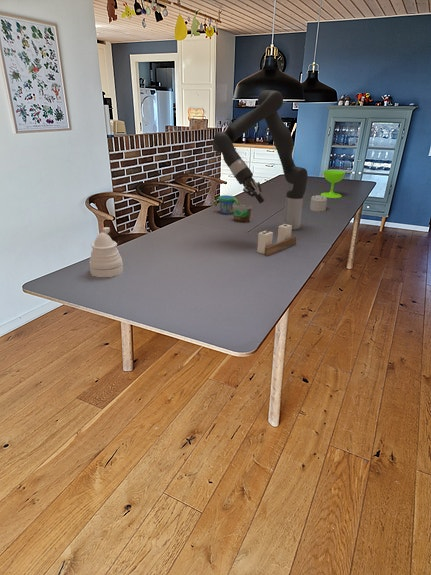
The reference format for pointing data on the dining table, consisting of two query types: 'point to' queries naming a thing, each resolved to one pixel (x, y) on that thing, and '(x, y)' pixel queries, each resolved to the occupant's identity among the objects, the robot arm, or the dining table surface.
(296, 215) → the robot arm
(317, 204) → the lumpy-topped squat cylinder
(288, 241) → the console
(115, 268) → the honey pot
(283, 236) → the key one
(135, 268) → the dining table surface
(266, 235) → the key two
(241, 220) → the food container
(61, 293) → the dining table surface
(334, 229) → the dining table surface
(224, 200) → the snack cup
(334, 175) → the wineglass
